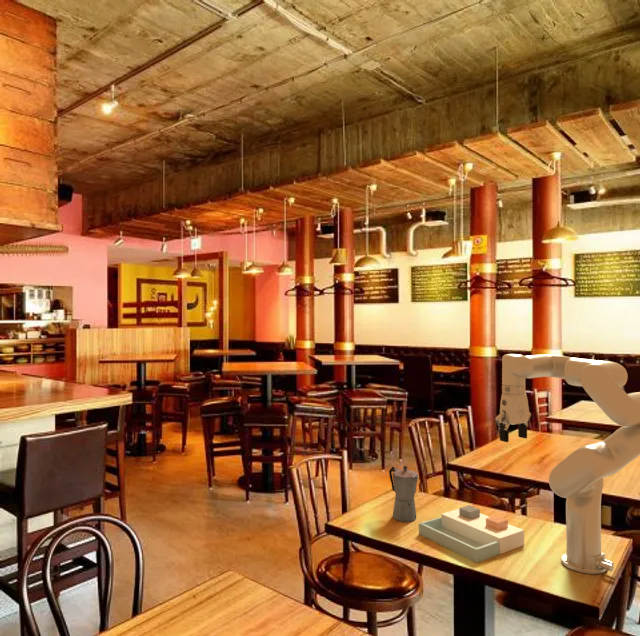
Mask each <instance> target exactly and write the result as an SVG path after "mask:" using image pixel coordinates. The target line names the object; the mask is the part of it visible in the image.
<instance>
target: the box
mask: <svg viewBox="0 0 640 636" xmlns="http://www.w3.org/2000/svg"><path fill="white" fill-rule="evenodd" d="M418 535H419V536H421V537H423V538H425V539H427V540H429V541H431V542H433V541H434V543H435V542H436V543H435V544H437V545H439V546H442V547H443V548H446V549H448V550H450V551H452V552H454V553H456V554H458V555H460V556H462V557H464V558H466V559H468V560H469V561H472V562H474V563H479V562H480V563H481V562H482V561H485V560H486V561H487V560H488V559H491V558H493V557H496V556H498V555H501V554H500V553H499V552H498V542H497V541H495V542H492V543H489V544H486V545H481V544H479V543H477V542H474V541H472V540H470V539H468V538H465V537H463V536H461V535H459V534H457V533H454V532H452V531H450V530H448V529H445V528H443V527H442V518H441V516H440V517H436V518H432V519H428V520H424V521H421V522H419V523H418Z"/></svg>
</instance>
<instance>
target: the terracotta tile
mask: <svg viewBox="0 0 640 636" xmlns="http://www.w3.org/2000/svg"><path fill="white" fill-rule="evenodd" d="M508 524H509V521H508V519H506V518H504V517H500V516H499V515H492V516H489V518H486V526H488V527H490V528H493V529H495V530H497V531H498V530H501V529H504V528H507V527H508Z"/></svg>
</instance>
